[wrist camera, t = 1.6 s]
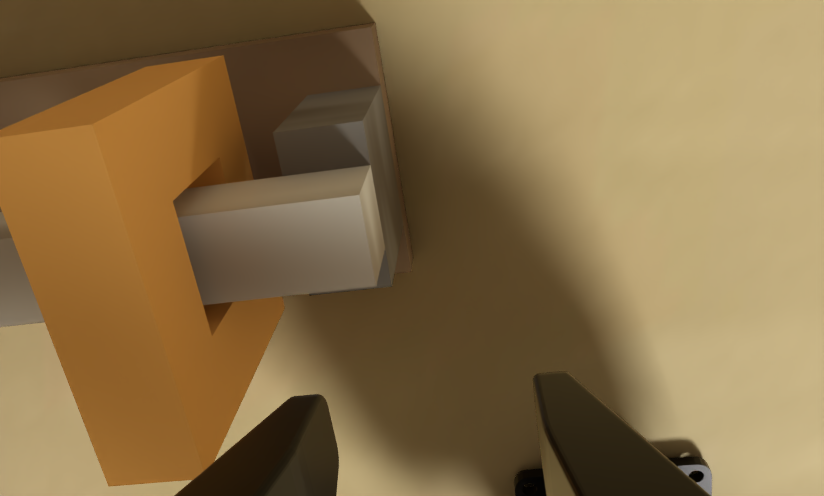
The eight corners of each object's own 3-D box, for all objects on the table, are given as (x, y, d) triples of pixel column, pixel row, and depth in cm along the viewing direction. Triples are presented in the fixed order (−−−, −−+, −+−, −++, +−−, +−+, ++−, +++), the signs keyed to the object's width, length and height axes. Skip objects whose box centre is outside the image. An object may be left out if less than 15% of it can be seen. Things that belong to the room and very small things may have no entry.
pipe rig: (412, 257, 22) (394, 390, 16) (-148, 320, 25) (-365, 461, 18) (375, 22, 20) (334, 66, 13) (-251, 115, 22) (-550, 194, 15)
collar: (285, 307, 21) (206, 478, 14) (216, 315, 21) (108, 486, 14) (223, 55, 18) (92, 124, 12) (145, 66, 18) (-26, 140, 12)
